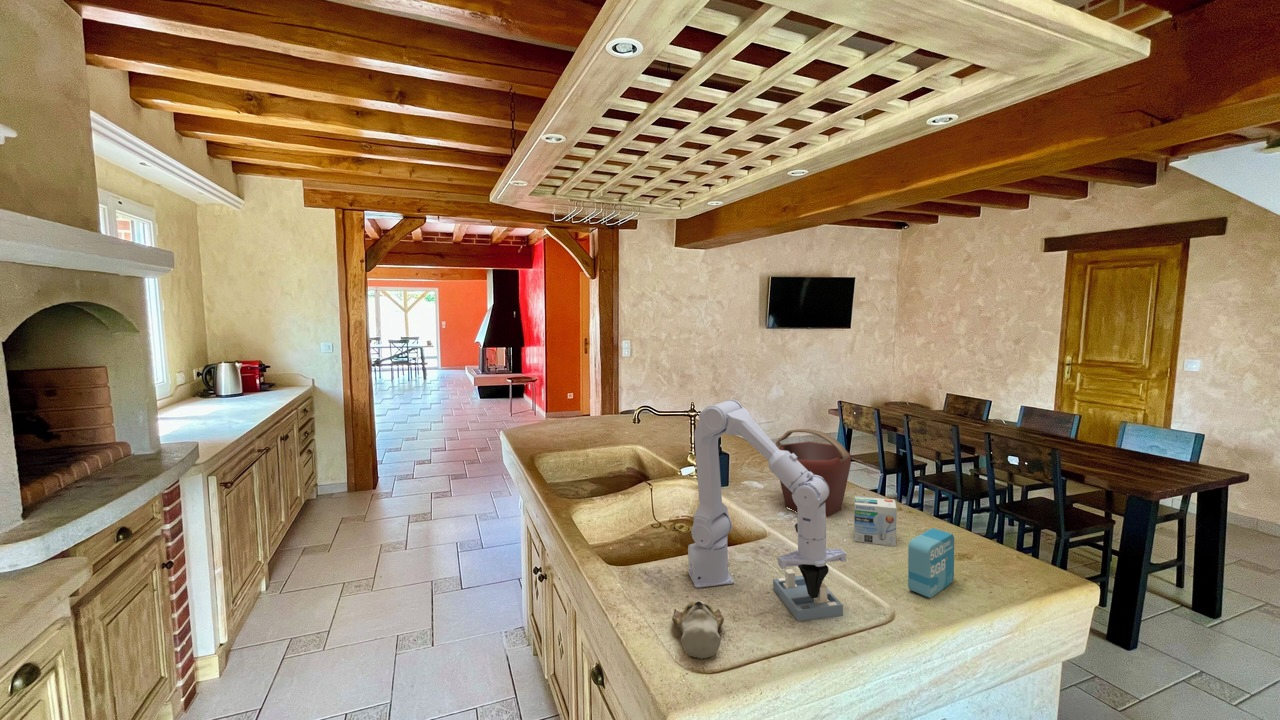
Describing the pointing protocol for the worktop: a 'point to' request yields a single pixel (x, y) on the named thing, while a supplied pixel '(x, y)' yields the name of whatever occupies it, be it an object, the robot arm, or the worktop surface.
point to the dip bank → (806, 601)
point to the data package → (930, 562)
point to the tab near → (822, 595)
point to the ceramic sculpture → (699, 629)
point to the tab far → (789, 579)
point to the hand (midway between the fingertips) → (812, 595)
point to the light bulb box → (875, 520)
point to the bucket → (820, 467)
